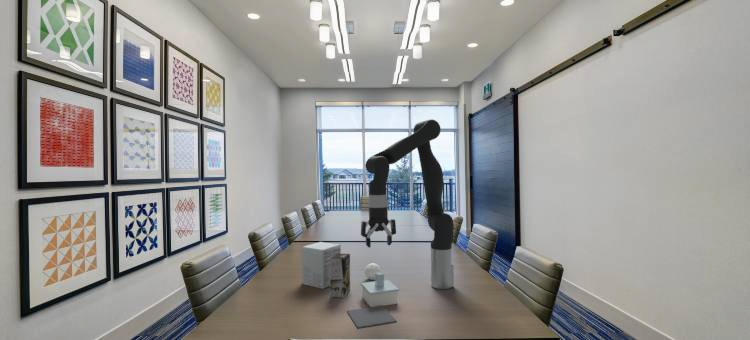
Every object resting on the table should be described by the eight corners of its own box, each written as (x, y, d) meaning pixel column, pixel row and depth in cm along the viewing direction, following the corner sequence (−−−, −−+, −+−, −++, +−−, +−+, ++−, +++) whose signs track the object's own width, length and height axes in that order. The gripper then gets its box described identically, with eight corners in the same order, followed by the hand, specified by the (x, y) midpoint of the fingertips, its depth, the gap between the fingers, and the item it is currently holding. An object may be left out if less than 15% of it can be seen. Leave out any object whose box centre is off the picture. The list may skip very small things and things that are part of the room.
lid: (387, 281, 140) (387, 267, 140) (399, 291, 129) (398, 276, 129) (360, 284, 136) (360, 270, 136) (370, 295, 125) (369, 279, 125)
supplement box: (341, 281, 157) (341, 244, 157) (323, 289, 146) (323, 249, 146) (320, 276, 164) (320, 241, 164) (301, 284, 153) (301, 246, 153)
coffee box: (344, 298, 135) (344, 258, 136) (329, 296, 137) (329, 258, 137) (350, 290, 144) (350, 253, 145) (336, 289, 146) (336, 252, 146)
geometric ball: (369, 286, 158) (359, 273, 156) (373, 275, 165) (363, 263, 163) (382, 280, 155) (372, 267, 153) (385, 269, 162) (375, 257, 161)
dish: (387, 293, 140) (387, 282, 140) (397, 303, 129) (397, 290, 129) (362, 297, 136) (362, 285, 136) (370, 307, 126) (370, 294, 126)
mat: (382, 306, 127) (382, 305, 127) (396, 321, 113) (396, 320, 113) (347, 311, 122) (347, 310, 122) (357, 328, 109) (357, 327, 109)
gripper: (391, 204, 139) (392, 242, 139) (358, 205, 134) (359, 245, 134) (397, 205, 131) (398, 246, 131) (363, 207, 127) (364, 249, 127)
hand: (378, 246), depth 133 cm, fingers open, 8 cm apart
